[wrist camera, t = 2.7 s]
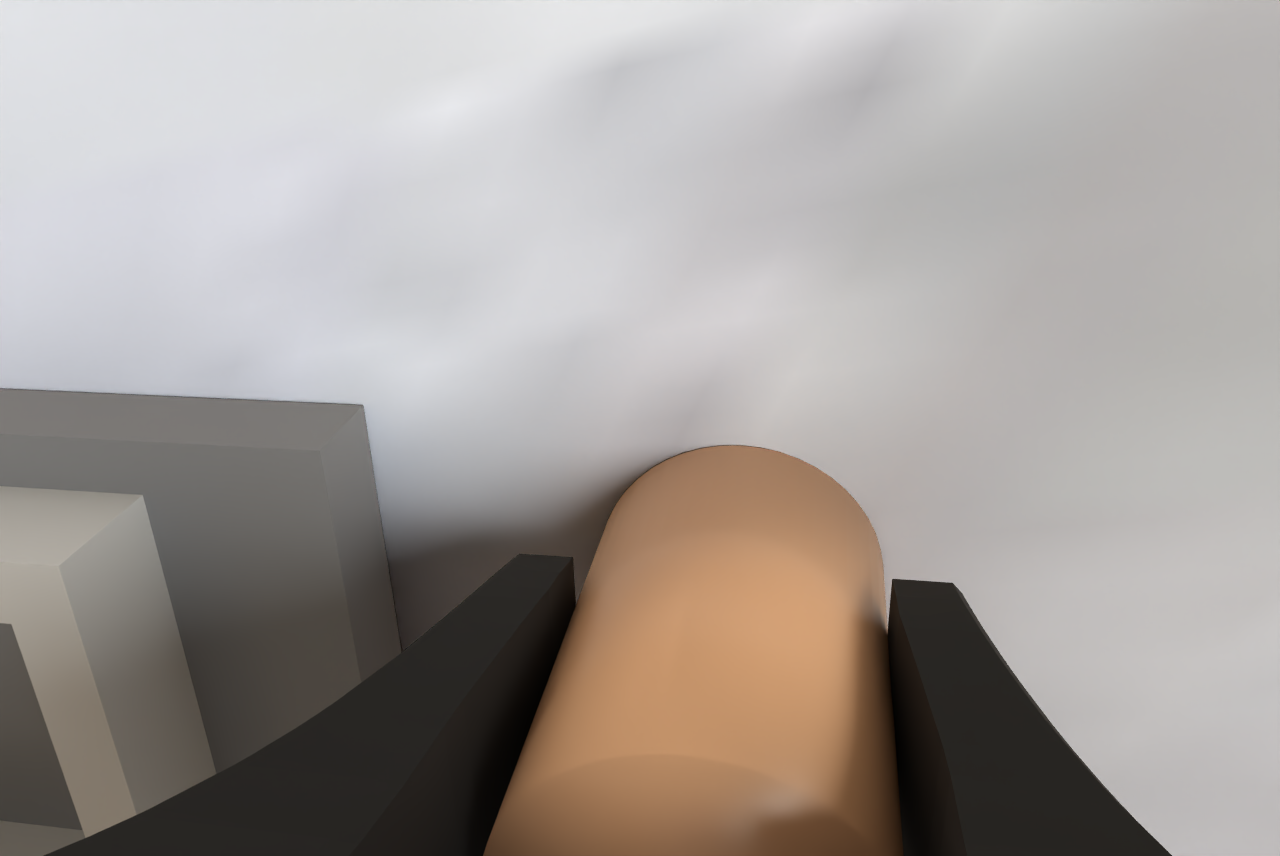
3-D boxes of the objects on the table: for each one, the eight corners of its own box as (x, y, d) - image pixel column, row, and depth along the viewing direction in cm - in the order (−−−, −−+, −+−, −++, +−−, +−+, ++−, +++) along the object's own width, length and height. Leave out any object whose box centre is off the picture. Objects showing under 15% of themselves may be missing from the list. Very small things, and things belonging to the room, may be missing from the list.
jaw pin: (873, 695, 13) (891, 1087, 9) (606, 672, 14) (498, 1032, 9) (894, 453, 12) (927, 778, 7) (594, 438, 12) (460, 734, 8)
